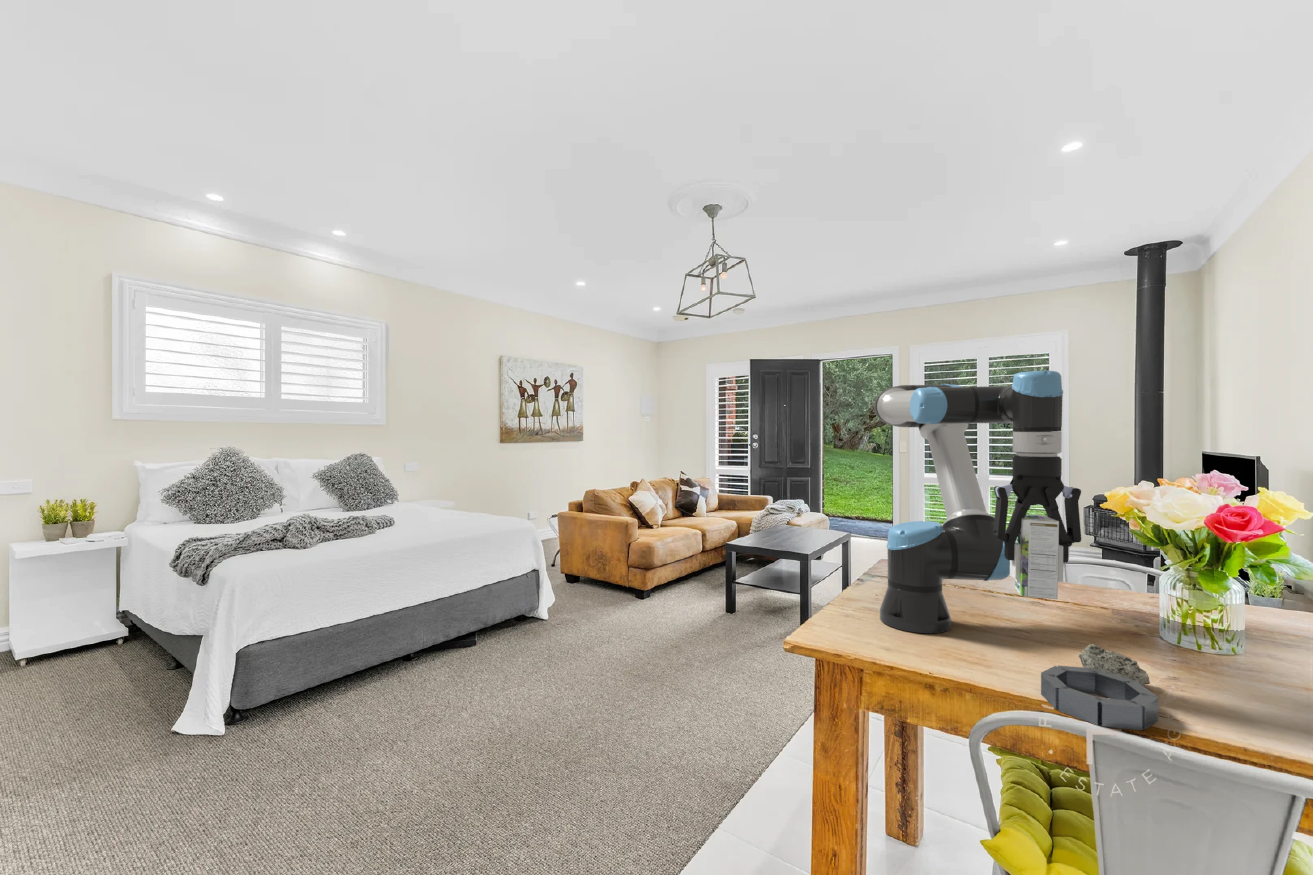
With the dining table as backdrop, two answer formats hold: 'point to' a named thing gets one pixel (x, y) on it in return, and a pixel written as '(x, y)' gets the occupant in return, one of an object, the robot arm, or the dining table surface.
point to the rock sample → (1112, 664)
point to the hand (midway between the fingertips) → (1035, 578)
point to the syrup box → (1038, 557)
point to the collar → (1123, 710)
